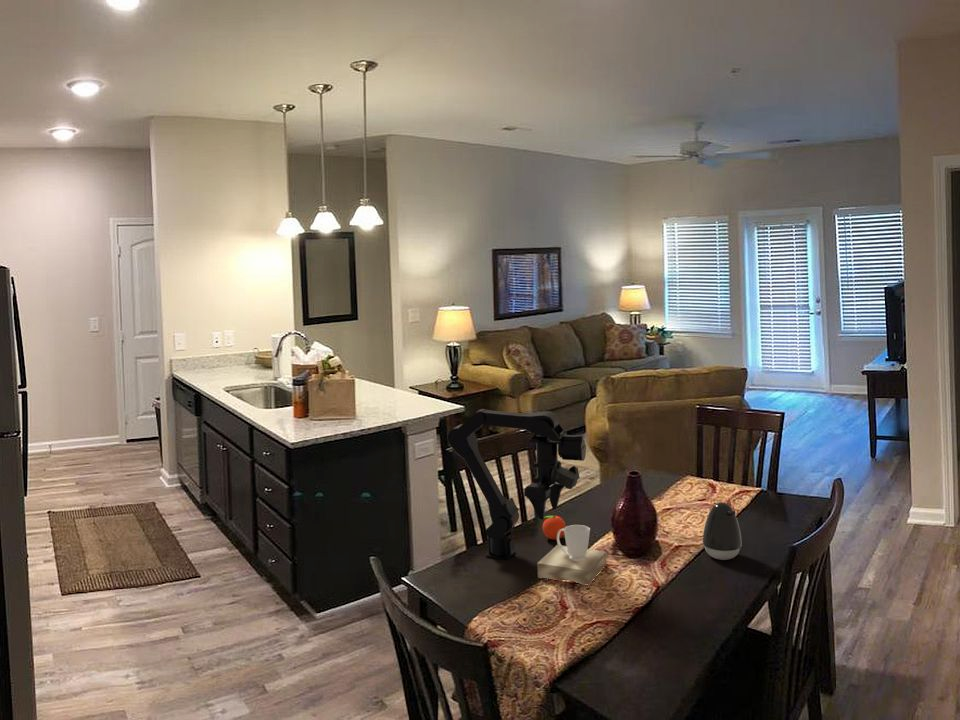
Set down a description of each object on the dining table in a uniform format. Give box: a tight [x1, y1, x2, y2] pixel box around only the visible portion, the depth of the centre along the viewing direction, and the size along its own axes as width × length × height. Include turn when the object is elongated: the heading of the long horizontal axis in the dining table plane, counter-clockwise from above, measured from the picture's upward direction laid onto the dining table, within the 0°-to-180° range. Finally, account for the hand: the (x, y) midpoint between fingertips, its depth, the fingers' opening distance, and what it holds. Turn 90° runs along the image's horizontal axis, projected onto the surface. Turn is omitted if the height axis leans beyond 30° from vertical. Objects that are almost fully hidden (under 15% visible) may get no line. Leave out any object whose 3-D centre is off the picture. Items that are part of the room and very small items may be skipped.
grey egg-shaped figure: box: [702, 501, 743, 561], centre depth 216 cm, size 10×10×15 cm
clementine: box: [540, 515, 567, 541], centre depth 234 cm, size 8×7×7 cm
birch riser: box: [536, 544, 607, 585], centre depth 210 cm, size 14×14×4 cm
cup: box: [556, 524, 591, 561], centre depth 209 cm, size 7×10×8 cm
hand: (548, 513), depth 217 cm, fingers open, 9 cm apart
